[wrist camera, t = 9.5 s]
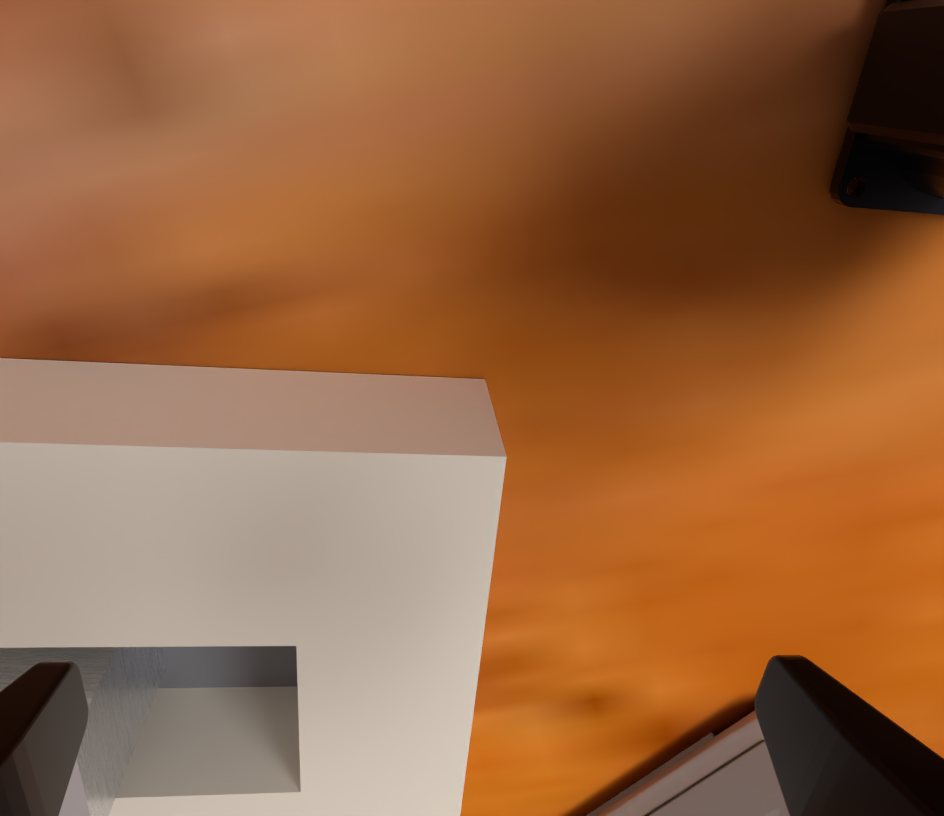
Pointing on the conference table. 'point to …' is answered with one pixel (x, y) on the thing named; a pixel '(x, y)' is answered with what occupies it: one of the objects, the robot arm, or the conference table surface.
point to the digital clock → (708, 780)
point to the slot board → (261, 572)
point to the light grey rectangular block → (99, 713)
